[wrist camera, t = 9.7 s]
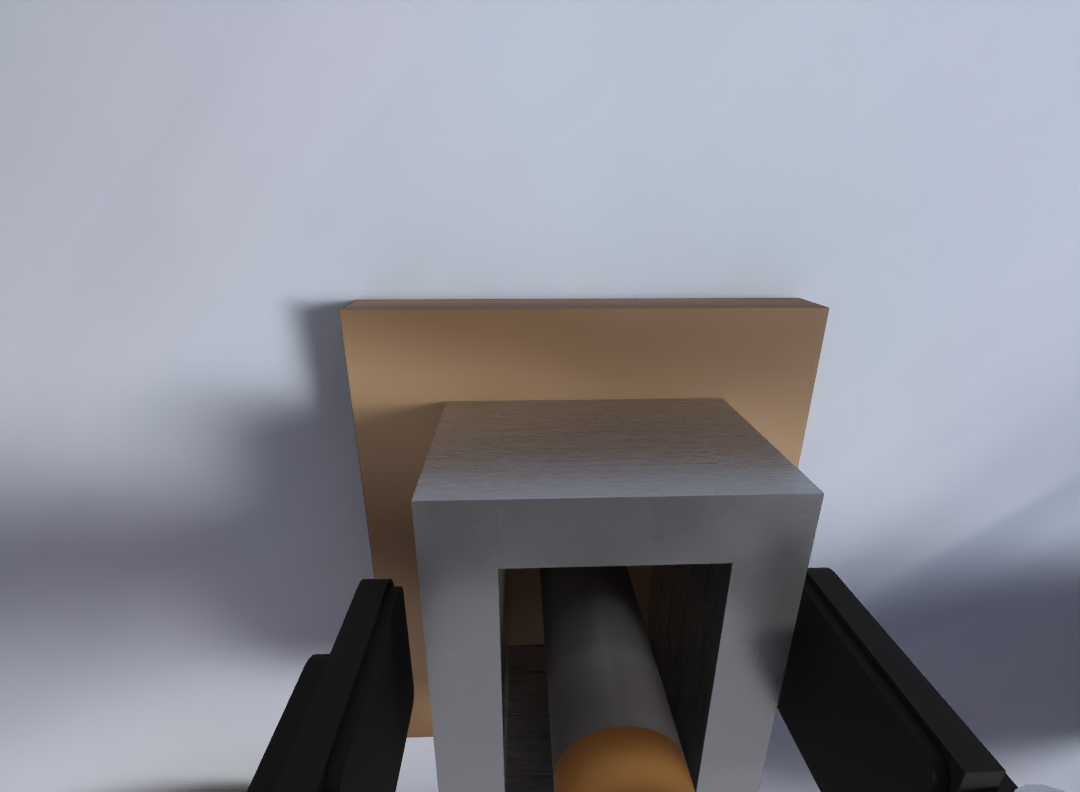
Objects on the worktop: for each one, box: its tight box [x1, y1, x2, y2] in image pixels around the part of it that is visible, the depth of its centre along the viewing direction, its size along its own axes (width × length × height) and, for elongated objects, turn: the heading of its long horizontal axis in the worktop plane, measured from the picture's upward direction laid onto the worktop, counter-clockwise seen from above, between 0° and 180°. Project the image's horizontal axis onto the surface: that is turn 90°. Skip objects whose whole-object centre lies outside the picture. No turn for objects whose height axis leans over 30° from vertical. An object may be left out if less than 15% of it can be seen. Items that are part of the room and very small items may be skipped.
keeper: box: [339, 298, 829, 792], centre depth 10 cm, size 12×10×7 cm
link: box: [411, 398, 824, 792], centre depth 11 cm, size 8×6×4 cm
